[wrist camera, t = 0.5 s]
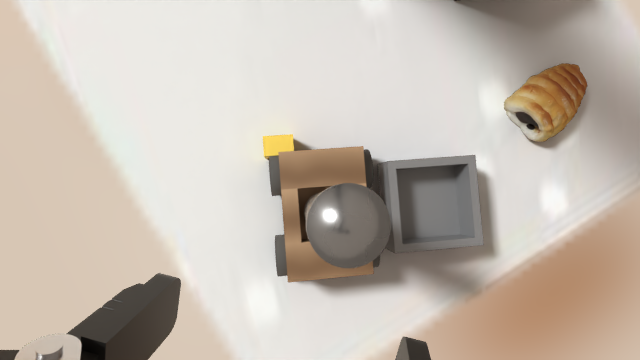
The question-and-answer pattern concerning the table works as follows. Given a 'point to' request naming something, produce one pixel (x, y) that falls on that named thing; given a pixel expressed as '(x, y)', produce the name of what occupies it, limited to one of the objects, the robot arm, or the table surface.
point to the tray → (431, 203)
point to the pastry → (547, 101)
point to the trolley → (296, 188)
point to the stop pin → (347, 225)
